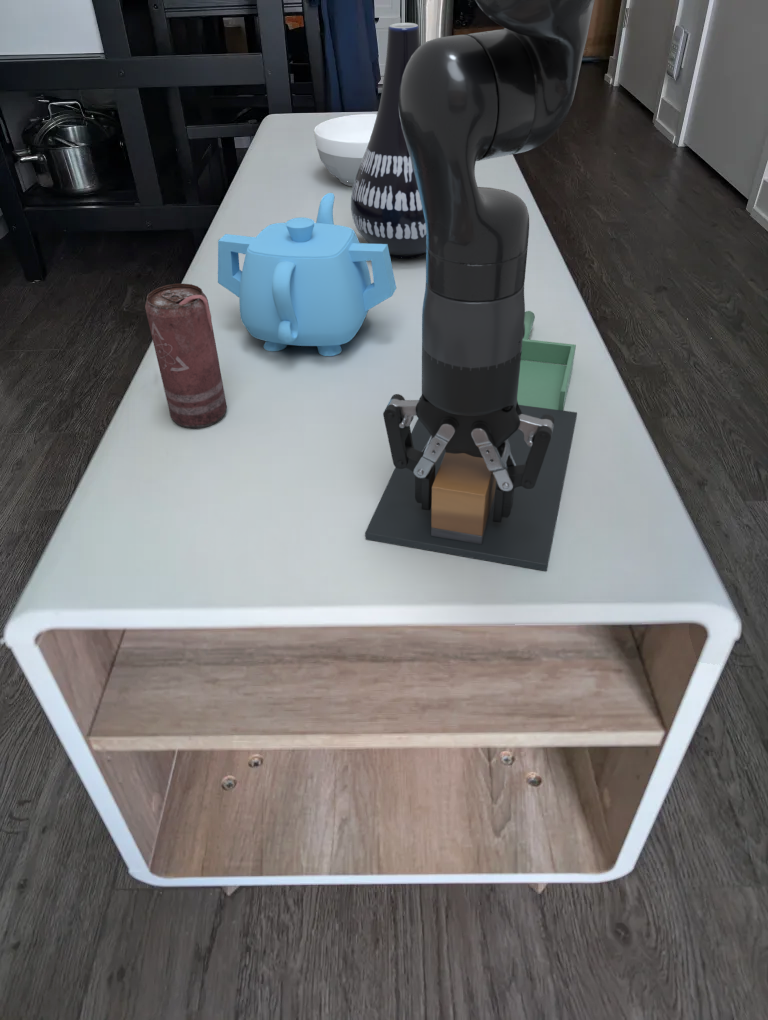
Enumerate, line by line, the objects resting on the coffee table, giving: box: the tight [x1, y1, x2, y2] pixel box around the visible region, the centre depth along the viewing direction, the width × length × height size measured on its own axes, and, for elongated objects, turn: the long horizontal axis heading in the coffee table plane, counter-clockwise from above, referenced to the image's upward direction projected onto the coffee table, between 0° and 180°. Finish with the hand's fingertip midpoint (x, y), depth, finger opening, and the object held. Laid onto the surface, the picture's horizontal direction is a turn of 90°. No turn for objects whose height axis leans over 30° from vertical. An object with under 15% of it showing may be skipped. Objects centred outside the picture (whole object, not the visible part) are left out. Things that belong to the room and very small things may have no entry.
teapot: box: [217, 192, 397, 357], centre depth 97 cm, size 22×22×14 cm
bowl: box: [313, 113, 377, 188], centre depth 144 cm, size 19×19×9 cm
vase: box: [350, 22, 426, 260], centre depth 111 cm, size 16×16×30 cm
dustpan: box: [517, 310, 577, 411], centre depth 93 cm, size 19×13×3 cm
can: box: [144, 283, 228, 429], centre depth 82 cm, size 6×6×14 cm
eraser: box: [431, 452, 496, 545], centre depth 69 cm, size 6×4×6 cm
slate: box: [364, 405, 578, 572], centre depth 77 cm, size 24×16×1 cm, turn 164°
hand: (463, 509), depth 70 cm, fingers open, 5 cm apart
